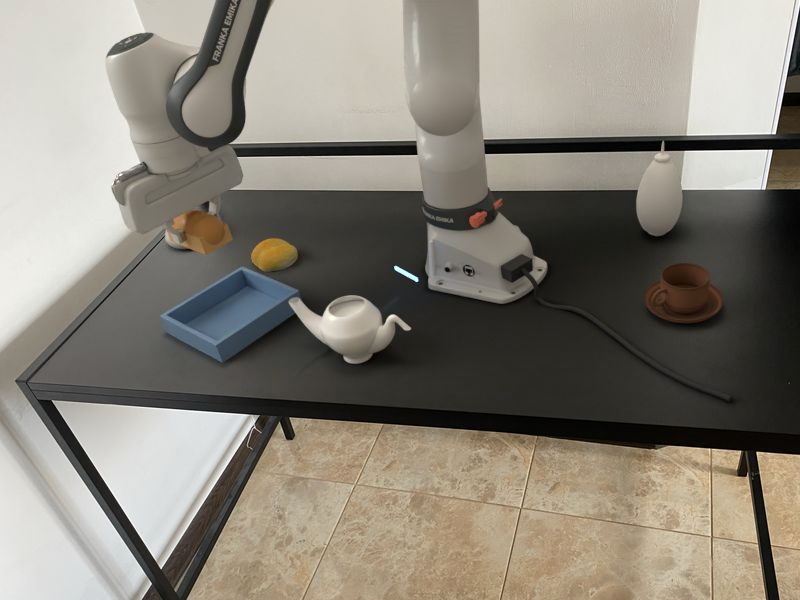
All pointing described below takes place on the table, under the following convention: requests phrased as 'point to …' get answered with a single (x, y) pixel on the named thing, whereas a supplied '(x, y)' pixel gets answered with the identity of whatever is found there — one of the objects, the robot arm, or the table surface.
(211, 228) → the loaf
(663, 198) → the white air blower bulb
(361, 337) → the teapot
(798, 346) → the table surface
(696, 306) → the cup and saucer
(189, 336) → the tray
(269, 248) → the bread roll
